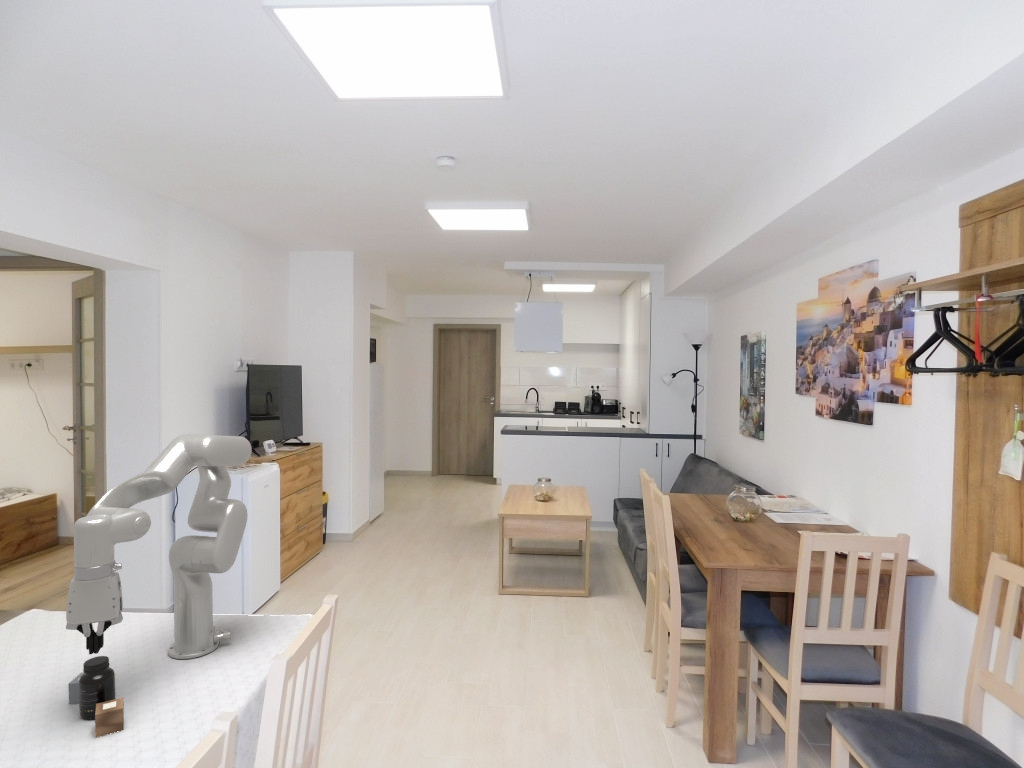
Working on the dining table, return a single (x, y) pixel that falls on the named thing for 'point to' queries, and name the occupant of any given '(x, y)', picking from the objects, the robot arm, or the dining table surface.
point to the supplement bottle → (95, 685)
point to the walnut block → (109, 717)
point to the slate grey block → (74, 690)
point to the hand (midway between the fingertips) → (95, 651)
